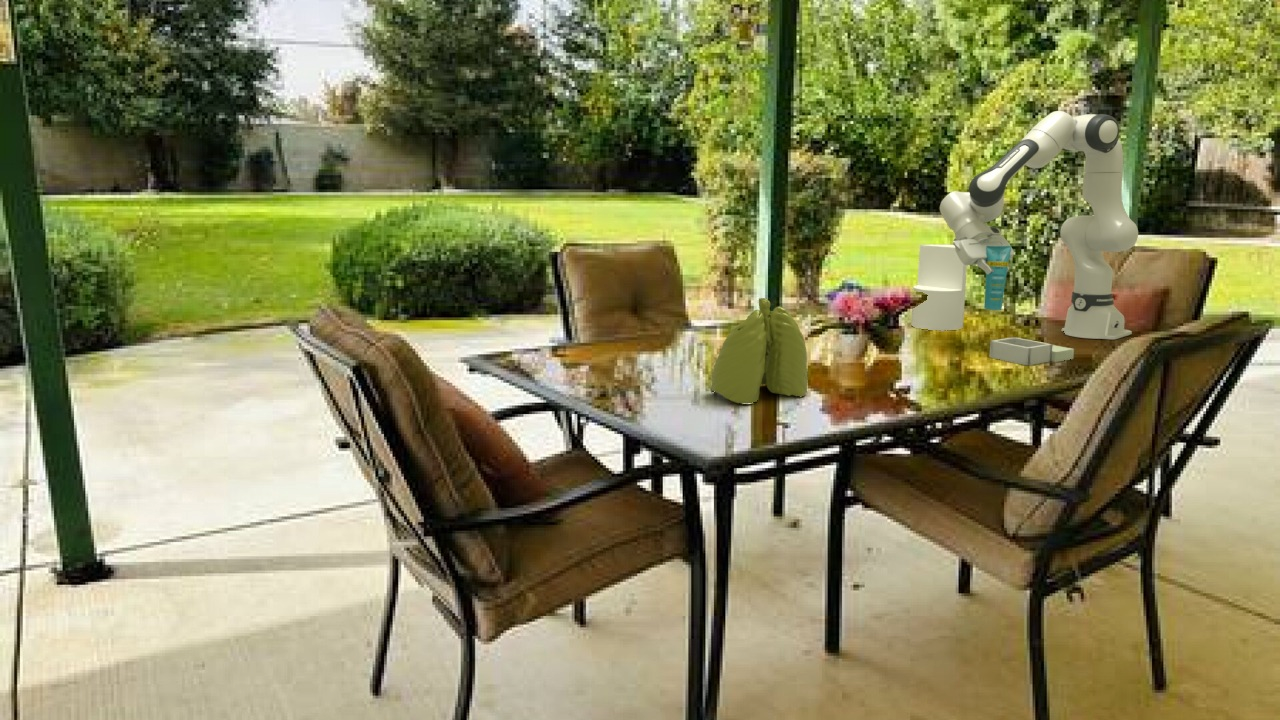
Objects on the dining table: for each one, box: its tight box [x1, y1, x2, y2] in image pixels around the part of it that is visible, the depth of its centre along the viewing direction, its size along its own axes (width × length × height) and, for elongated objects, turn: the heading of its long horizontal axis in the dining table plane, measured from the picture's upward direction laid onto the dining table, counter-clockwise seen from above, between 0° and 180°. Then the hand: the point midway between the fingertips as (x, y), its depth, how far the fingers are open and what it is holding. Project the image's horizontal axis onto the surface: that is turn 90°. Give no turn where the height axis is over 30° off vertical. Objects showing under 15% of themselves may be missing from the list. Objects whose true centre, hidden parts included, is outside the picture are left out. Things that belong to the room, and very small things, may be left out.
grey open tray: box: [988, 336, 1075, 366], centre depth 265 cm, size 18×16×5 cm
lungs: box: [710, 297, 809, 404], centre depth 224 cm, size 25×16×24 cm, turn 116°
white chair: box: [910, 244, 968, 332], centre depth 314 cm, size 17×17×28 cm
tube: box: [984, 245, 1013, 311], centre depth 272 cm, size 7×5×19 cm, turn 94°
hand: (998, 272), depth 271 cm, fingers closed on tube, 5 cm apart
